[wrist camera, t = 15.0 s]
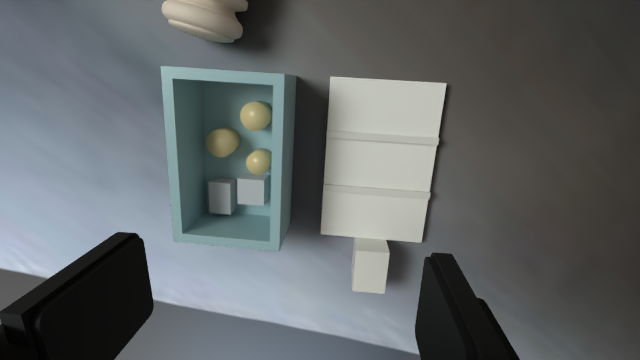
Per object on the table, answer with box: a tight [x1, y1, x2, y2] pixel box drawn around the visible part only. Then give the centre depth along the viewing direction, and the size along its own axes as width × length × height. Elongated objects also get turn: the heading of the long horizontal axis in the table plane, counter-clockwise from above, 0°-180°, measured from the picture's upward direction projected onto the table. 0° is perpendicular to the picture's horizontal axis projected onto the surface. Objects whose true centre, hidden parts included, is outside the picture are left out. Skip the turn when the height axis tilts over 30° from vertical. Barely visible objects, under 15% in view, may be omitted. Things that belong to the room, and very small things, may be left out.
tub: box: [161, 66, 296, 251], centre depth 28 cm, size 9×14×6 cm, turn 176°
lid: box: [321, 77, 447, 294], centre depth 30 cm, size 10×19×4 cm, turn 177°
